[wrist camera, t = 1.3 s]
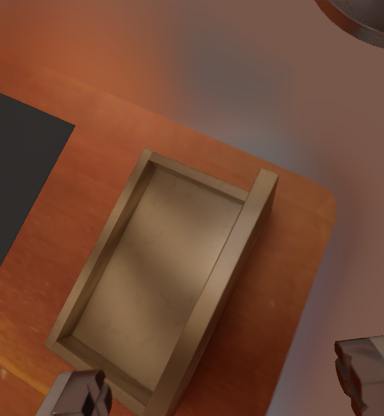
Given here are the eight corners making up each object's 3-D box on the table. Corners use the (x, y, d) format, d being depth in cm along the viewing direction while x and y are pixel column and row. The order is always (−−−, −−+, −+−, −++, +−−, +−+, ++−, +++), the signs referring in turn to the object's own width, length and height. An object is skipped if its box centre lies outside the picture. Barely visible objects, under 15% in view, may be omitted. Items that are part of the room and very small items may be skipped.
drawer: (158, 161, 33) (100, 104, 21) (271, 210, 30) (279, 173, 17) (70, 334, 32) (-45, 378, 20) (176, 410, 28) (113, 523, 16)
